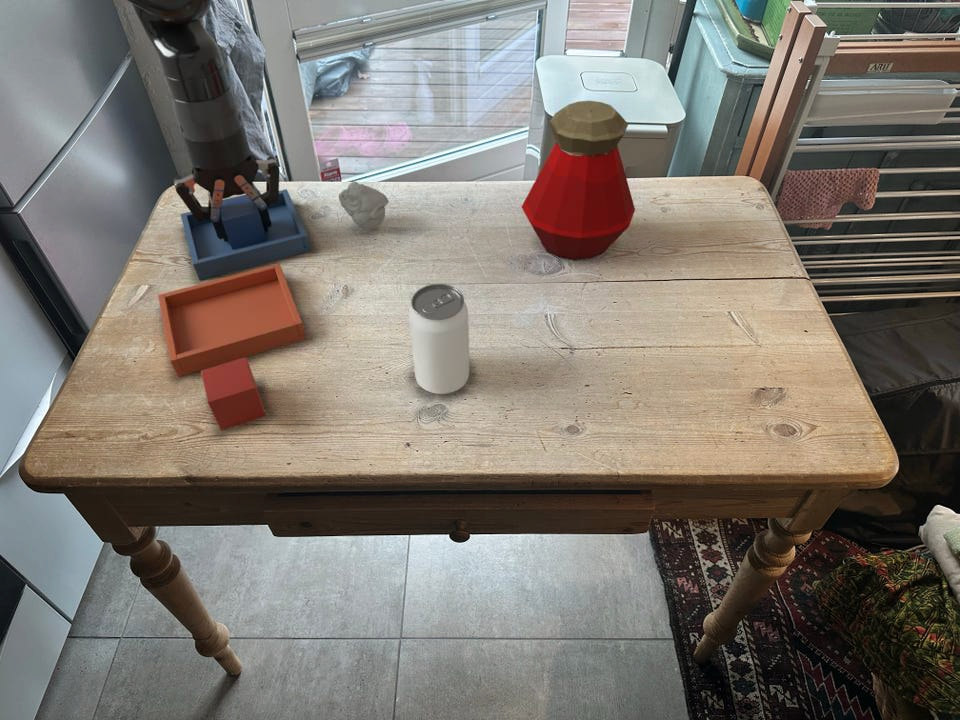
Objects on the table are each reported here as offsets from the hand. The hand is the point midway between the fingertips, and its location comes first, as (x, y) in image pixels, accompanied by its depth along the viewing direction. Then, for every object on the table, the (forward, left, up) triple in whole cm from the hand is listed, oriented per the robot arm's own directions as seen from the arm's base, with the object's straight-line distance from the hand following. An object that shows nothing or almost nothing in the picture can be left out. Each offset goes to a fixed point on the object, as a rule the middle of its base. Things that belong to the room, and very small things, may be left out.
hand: (245, 233), depth 98 cm
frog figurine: (+17, -4, -1) cm, 18 cm away
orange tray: (-5, -17, -1) cm, 18 cm away
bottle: (+43, -20, -1) cm, 47 cm away
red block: (-7, -31, -1) cm, 32 cm away
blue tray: (0, 0, -1) cm, 1 cm away
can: (+16, -36, -1) cm, 40 cm away
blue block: (0, 0, 0) cm, 0 cm away
